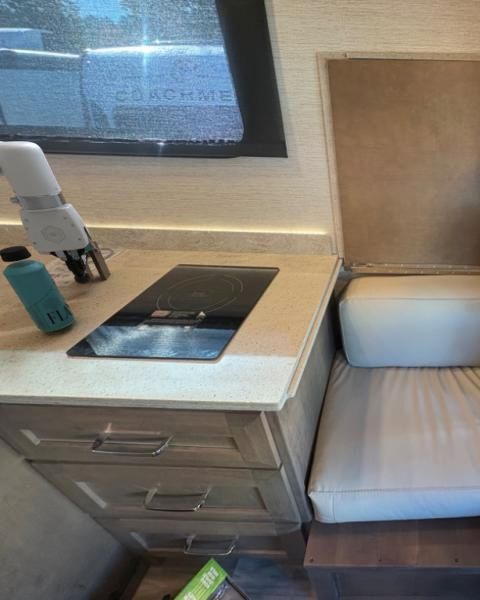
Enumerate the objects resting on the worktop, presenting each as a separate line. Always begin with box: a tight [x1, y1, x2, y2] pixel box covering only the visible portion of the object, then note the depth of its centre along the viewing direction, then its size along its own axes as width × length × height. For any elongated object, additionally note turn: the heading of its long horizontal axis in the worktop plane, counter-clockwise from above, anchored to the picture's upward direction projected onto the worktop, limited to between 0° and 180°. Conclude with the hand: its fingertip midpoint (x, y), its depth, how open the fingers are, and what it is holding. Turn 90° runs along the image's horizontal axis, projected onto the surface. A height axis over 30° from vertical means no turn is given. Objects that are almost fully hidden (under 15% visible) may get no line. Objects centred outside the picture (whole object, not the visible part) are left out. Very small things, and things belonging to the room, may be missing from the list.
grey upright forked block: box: [68, 240, 111, 282], centre depth 92 cm, size 7×10×12 cm
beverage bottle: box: [0, 245, 75, 332], centre depth 71 cm, size 6×7×20 cm
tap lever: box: [73, 251, 92, 285], centre depth 88 cm, size 12×3×3 cm, turn 24°
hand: (79, 272), depth 85 cm, fingers closed
